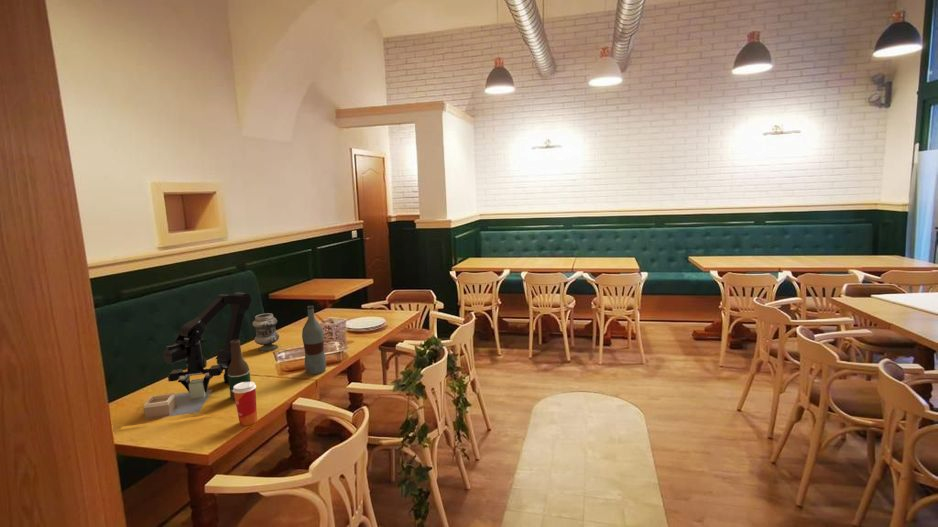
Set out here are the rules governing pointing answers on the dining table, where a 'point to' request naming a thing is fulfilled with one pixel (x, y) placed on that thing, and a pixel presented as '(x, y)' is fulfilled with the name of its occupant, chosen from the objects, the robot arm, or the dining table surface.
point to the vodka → (313, 344)
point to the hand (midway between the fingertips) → (198, 393)
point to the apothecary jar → (265, 332)
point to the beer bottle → (237, 367)
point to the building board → (187, 404)
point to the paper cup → (246, 402)
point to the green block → (197, 388)
